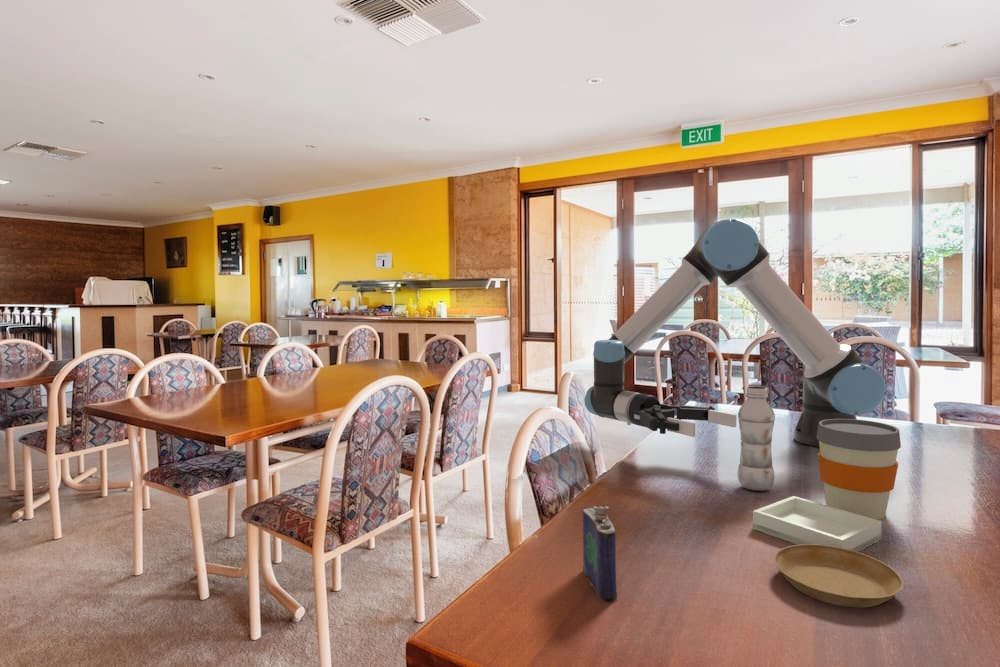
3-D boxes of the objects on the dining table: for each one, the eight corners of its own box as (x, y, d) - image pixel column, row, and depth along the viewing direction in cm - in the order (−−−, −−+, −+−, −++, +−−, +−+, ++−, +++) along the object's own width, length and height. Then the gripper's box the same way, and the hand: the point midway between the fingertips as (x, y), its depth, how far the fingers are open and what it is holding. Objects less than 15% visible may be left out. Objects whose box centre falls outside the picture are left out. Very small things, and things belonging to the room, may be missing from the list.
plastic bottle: (778, 495, 112) (780, 390, 110) (740, 493, 113) (742, 389, 111) (769, 484, 118) (771, 385, 116) (733, 482, 119) (735, 384, 118)
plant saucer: (932, 606, 73) (933, 586, 73) (837, 627, 69) (837, 605, 68) (833, 555, 87) (834, 538, 87) (749, 570, 83) (749, 552, 82)
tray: (793, 512, 103) (793, 495, 103) (881, 540, 91) (881, 521, 91) (752, 528, 96) (753, 510, 96) (842, 560, 85) (842, 540, 84)
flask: (580, 569, 83) (580, 495, 82) (600, 568, 83) (600, 493, 83) (600, 604, 74) (600, 520, 73) (623, 602, 74) (623, 519, 73)
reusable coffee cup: (870, 529, 95) (873, 438, 94) (799, 505, 106) (801, 423, 105) (914, 515, 101) (917, 429, 100) (842, 493, 112) (844, 415, 111)
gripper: (673, 417, 147) (750, 434, 129) (599, 432, 133) (675, 452, 115) (673, 388, 146) (751, 400, 129) (599, 399, 132) (675, 414, 115)
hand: (715, 425), depth 122 cm, fingers open, 13 cm apart
